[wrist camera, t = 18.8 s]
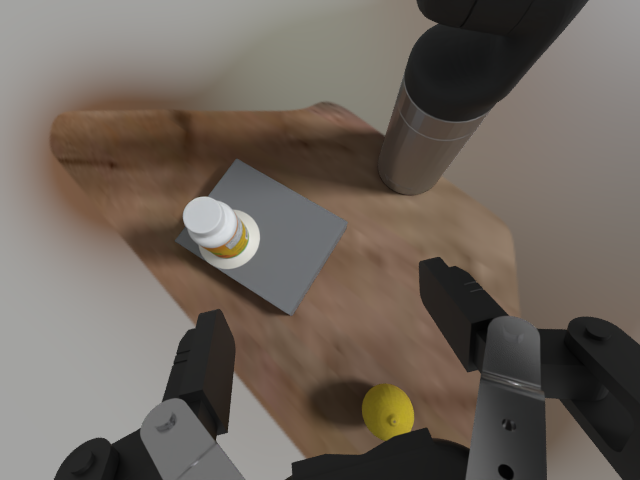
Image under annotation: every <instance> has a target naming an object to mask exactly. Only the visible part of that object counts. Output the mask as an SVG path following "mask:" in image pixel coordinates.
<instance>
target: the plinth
mask: <svg viewBox="0 0 640 480" xmlns="http://www.w3.org/2000/svg"><path fill="white" fill-rule="evenodd" d="M208 197H210V198H212V199H214V200H216V201H221V202H223V203H225V204H227V205H228V206H229V207H230V208H231V209H232V210H233V211H234V212H235V213H236V215H237V216H238V217H239V218H240V220H241V221H242V222H243V223H244V224H245V226H246V227H247V229H248V232H249V243H248V246H247V248H246V249H245V251H244V252H243V253H242V254H241V255H239V256H237V257H235V258H232V259H222V258H219V257H217V256H215V255H214V254H212V253H211V252H209V251H207V250H206V249H204V248H203V247H201V246H200V245H198V244H197V243H196V242H195V241H193V239H192V238H191V237H190V235H189V233H188V229H187V227H186V226H185V228H184V229H183V230H182V232H181V233H180V234H179V236H178V237H177V238H176V240H175V242H177V243H178V244H180V245H181V246H183V247H185V248H186V249H188V250H189V251H191V252H192V253H194V254H195V255H197V256H199V257H200V258H202V259H203V260H205V261H206V262H208V263H209V264H211V265H213V266H214V267H216V268H217V269H219V270H220V271H222V272H223V273H225V274H227V275H228V276H230V277H231V278H233V279H234V280H236V281H237V282H239V283H241V284H242V285H244V286H245V287H247V288H248V289H250V290H251V291H253V292H255V293H256V294H258V295H259V296H261V297H262V298H264V299H266V300H267V301H269V302H270V303H272V304H273V305H275V306H276V307H278V308H280V309H281V310H283V311H284V312H286V313H287V314H289V315H291V316H292V315H293V314H294V312H295V310H296V309H297V307H298V306H299V304H300V302H301V301H302V299H303V298H304V296H305V294H306V293H307V291H308V290H309V288H310V286H311V285H312V283H313V282H314V280H315V278H316V277H317V275H318V273H319V272H320V270H321V269H322V267H323V265H324V264H325V262H326V261H327V259H328V257H329V256H330V254H331V253H332V251H333V249H334V248H335V246H336V244H337V243H338V241H339V240H340V238H341V236H342V235H343V233H344V232H345V230H346V228H347V223H348V222H347V221H345V220H343V219H342V218H340V217H338V216H336V215H335V214H333V213H331V212H329V211H328V210H326V209H324V208H322V207H321V206H319V205H317V204H315V203H314V202H312V201H310V200H308V199H307V198H305V197H303V196H301V195H300V194H298V193H296V192H294V191H293V190H291V189H289V188H287V187H286V186H284V185H282V184H280V183H279V182H277V181H275V180H273V179H272V178H270V177H268V176H266V175H265V174H263V173H261V172H259V171H258V170H256V169H254V168H252V167H251V166H249V165H247V164H245V163H244V162H242V161H240V160H238V159H237V158H236V160H235V161H234V162H233V164H232V165H231V166H230V168H229V169H228V170H227V172H226V173H225V174H224V176H223V177H222V178H221V180H220V181H219V182H218V184H217V185H216V186H215V188H214V189H213V190H212V192H211V193H210V194H209V196H208Z"/></svg>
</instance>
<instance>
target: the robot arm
mask: <svg viewBox="0 0 640 480" xmlns="http://www.w3.org/2000/svg"><path fill="white" fill-rule="evenodd" d="M587 2H588V0H417V4H418V7H419V9H420V11H421V12H422V14H423V15H424V16H425V17H426V18H428V19H430V20H432V21H434V22H436V23H439V24H437V25H435V26H433V27H432V28H430V29H429V30H427V31H426V32H425V33H424V34H423V35H422V36H421V37H420V38H419V39H418V40H417V42H416V43H415V45H414V47H413V49H412V51H411V53H410V56H409V59H408V62H407V66H406V69H405V72H404V76H403V79H402V82H401V85H400V89H399V93H398V96H397V99H396V102H395V106H394V109H393V112H392V116H391V119H390V122H389V126H388V129H387V132H386V135H385V139H384V142H383V145H382V148H381V152H380V155H379V158H378V172H379V174H380V177H381V179H382V180H383V182H384V183H385V184H386V185H387V186H388V187H389V188H391V189H392V190H394V191H396V192H398V193H401V194H406V195H416V194H421V193H424V192H426V191H428V190H429V189H431V188H432V187H433V186H434V185H435V184H436V182H437V181H438V180H439V178H440V177H441V176H442V174H443V173H444V172H445V171H446V169H447V168H448V167H449V165H450V164H451V162H452V161H453V160H454V159H455V157H456V156H457V155H458V153H459V152H460V151H461V149H462V148H463V146H464V145H465V144H466V143H467V141H468V140H469V139H470V137H471V136H472V135H473V133H474V132H475V131H476V129H477V128H478V127H479V125H480V124H481V123H482V121H483V119H484V118H485V117H486V115H487V114H488V113H489V112H490V110H491V109H492V108H493V107H494V105H495V104H496V103H497V102H499V101H500V100H502V99H503V98H504V97H506V96H507V95H508V94H509V93H510V91H511V90H512V89H513V88H514V87H515V86H516V84H517V83H518V82H519V81H520V80H521V78H522V77H523V76H524V75H525V74H526V72H527V71H528V70H529V69H530V68H531V67H532V66H533V64H534V63H535V62H536V61H537V60H538V59H539V58H540V57H541V55H542V54H543V53H544V52H545V51H546V50H547V49H548V47H549V46H550V45H551V44H552V43H553V42H554V41H555V40H556V39H557V37H558V36H559V35H560V34H561V33H562V32H563V31H564V30H565V28H566V27H567V26H568V24H570V22H571V21H572V20H573V19H574V18H575V16H576V15H577V14H578V13H579V12H580V10H581V9H582V8H583V7H584V6H585V4H586V3H587ZM419 283H420V296H421V299H422V302H423V304H424V306H425V308H426V309H427V311H428V312H429V314H430V315H431V317H432V318H433V320H434V322H435V323H436V325H437V326H438V328H439V329H440V331H441V332H442V334H443V335H444V337H445V339H446V340H447V342H448V343H449V345H450V346H451V348H452V349H453V351H454V352H455V354H456V356H457V357H458V359H459V360H460V362H461V363H462V365H463V366H464V368H465V369H466V371H467V373H468V372H471V371H475V370H479V372H480V373H481V378H480V385H479V391H478V398H477V405H476V412H475V419H474V425H473V432H472V439H471V446H470V449H469V448H467V447H465V446H463V445H461V444H458V443H456V442H452V441H449V440H444V439H438V438H432V437H431V435H430V433H429V430H428V428H423V429H419V430H415V431H412V432H408V433H404V434H400V435H396V436H394V437H392V438H390V439H388V440H387V441H385V442H383V443H382V444H380V445H378V446H377V447H375V448H373V449H372V450H370V451H368V452H367V453H365V454H362V455H342V454H324V455H320V456H316V457H312V458H308V459H305V460H301V461H297V462H293V463H292V476H290V477H288V478H287V479H285V480H547V464H546V422H545V398H556V399H560V401H561V402H562V403H563V405H564V406H565V407H566V408H567V410H568V411H569V412H570V414H571V415H572V416H573V417H574V419H575V420H576V421H577V422H578V424H579V425H580V426H581V428H582V429H583V430H584V431H585V433H586V434H587V435H588V436H589V438H590V439H591V440H592V441H593V443H594V444H595V445H596V447H597V448H598V449H599V450H600V452H601V453H602V454H603V455H604V457H605V458H606V459H607V460H608V462H609V463H610V464H611V466H612V467H613V468H614V469H615V471H616V472H617V473H618V474H619V476H620V477H621V478H622V480H640V345H639V344H638V343H637V342H636V341H634V340H633V339H632V338H631V337H630V336H628V335H627V334H626V333H625V332H624V331H622V330H621V329H620V328H618V327H617V326H616V325H614V324H612V323H610V322H608V321H605V320H602V319H599V318H594V317H578V318H575V319H573V320H572V321H570V323H569V325H568V328H567V330H562V329H537V328H535V327H534V326H533V325H532V324H531V323H529V322H527V321H525V320H523V319H521V318H518V317H513V316H509V315H508V314H507V313H506V312H505V311H504V310H503V309H502V308H501V307H500V306H499V305H498V304H497V303H496V302H495V300H494V299H493V298H492V297H491V296H490V295H489V294H488V293H487V292H486V291H485V290H483V288H482V287H481V286H480V285H479V284H478V283H476V281H475V279H474V278H473V277H472V276H471V275H470V274H469V273H468V272H466V271H464V270H462V269H460V268H458V267H456V266H453V267H448V266H447V265H446V263H445V262H444V261H443V260H442V259H441V258H440V257H436V258H431V259H427V260H423V261H420V262H419ZM234 362H235V342H234V338H233V335H232V333H231V331H230V328H229V326H228V324H227V322H226V319H225V317H224V315H223V313H222V311H221V310H220V309H217V310H213V311H208V312H204V313H200V314H199V316H198V320H197V324H196V328H194V329H191V330H188V331H187V333H186V334H185V335H184V337H183V338H182V339H181V341H180V343H179V346H178V350H177V355H176V356H175V360H174V365H173V366H172V370H171V373H170V376H169V380H168V383H167V387H166V390H165V393H164V397H163V400H162V403H160V404H159V405H157V406H156V407H155V408H154V409H152V410H151V411H150V413H149V414H148V415H147V416H146V418H145V419H144V421H143V423H142V426H141V428H140V429H138V430H137V431H135V432H133V433H131V434H129V435H128V436H126V437H124V438H122V439H120V440H118V441H117V442H115V443H113V444H110V442H109V441H108V440H106V439H105V438H95V439H92V440H89V441H87V442H85V443H83V444H82V445H80V446H79V447H78V448H76V449H75V450H74V451H73V452H72V453H70V455H69V456H68V457H67V458H66V459H65V460H64V462H63V463H62V464H61V466H60V468H59V470H58V471H57V474H56V476H55V478H54V480H245V479H244V477H243V476H242V474H241V473H240V472H239V470H238V469H237V468H236V467H235V465H234V464H233V463H232V461H231V460H230V459H229V457H228V456H227V455H226V454H225V452H224V451H223V450H222V448H221V447H220V445H219V444H218V443H217V442H216V436H217V435H221V434H225V433H228V423H229V413H230V403H231V393H232V383H233V372H234Z"/></svg>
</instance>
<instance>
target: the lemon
mask: <svg viewBox="0 0 640 480" xmlns="http://www.w3.org/2000/svg"><path fill="white" fill-rule="evenodd" d="M362 415H363V419H364V422H365V424H366V426H367V427H368V429H369V430H370V431H371V432H372V433H373V435H375V436H376V437H378V438H379V439H381V440H384V441H387V440H388V439H390V438H392V437H394V436H396V435H400V434H404V433H408V432H410V430H411V429H412V426H413V422H414V411H413V407H412V404H411V402H410V400H409V398H408V397H407V395H406V394H405V393H404V392H403V391H402V390H401V389H399V388H398V387H396V386H394V385H391V384H379V385H376V386H374V387H372V388H371V389H370V390H369V391H368V392H367V394H366V395H365V397H364V400H363V404H362Z"/></svg>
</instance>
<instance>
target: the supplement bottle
mask: <svg viewBox="0 0 640 480" xmlns="http://www.w3.org/2000/svg"><path fill="white" fill-rule="evenodd" d="M183 221H184V224H185V226H186V227H187V229H188V233H189V235H190V237H191V238H192V239H193V241H195V242H196V243H197V244H198V245H200V246H201V247H203V248H204V249H206V250H207V251H209V252H211V253H212V254H214V255H215V256H217V257H219V258H222V259H232V258H235V257H237V256H239V255H241V254H242V253H243V252H244V251H245V249H246V248H247V246H248V243H249V232H248V229H247V227H246V226H245V224H244V223H243V222H242V221H241V220H240V218H239V217H238V216H237V215H236V213H235V212H234V211H233V210H232V209H231V208H230V207H229V206H228V205H227V204H225V203H223V202H221V201H216V200H214V199H212V198H210V197H198V198H195V199H193V200H192V201H191V202H189V203H188V204H187V206H186V207H185V209H184V212H183Z"/></svg>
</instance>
